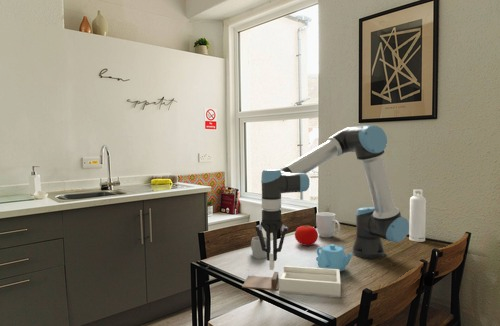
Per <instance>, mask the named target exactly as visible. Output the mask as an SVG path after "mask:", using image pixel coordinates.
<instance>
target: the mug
mask: <svg viewBox="0 0 500 326" xmlns="http://www.w3.org/2000/svg"><path fill="white" fill-rule="evenodd" d="M315 219H316V220H315V223H316V224H315V225H316V231H317V233H318V236H320V237H322V238H331V237H332V236H333V235H338V234H339V233H340V231H341V223H340V222H339V221H338V220H337V219H336V213H333V212H328V211H326V212H325V211H321V212H316V214H315ZM336 224H337V231H335V229H336Z"/></svg>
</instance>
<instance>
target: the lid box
mask: <svg viewBox="0 0 500 326" xmlns="http://www.w3.org/2000/svg"><path fill="white" fill-rule="evenodd" d="M340 273H341V271H339V269H327V268H319V267H312V266H297V265H296V266H295V265H283V271H282V274H281V277H278V278H279V290H278V291H279V293H280V294H293V295H303V296H304V295H305V296H315V297H316V296H317V297H327V298H329V297H330V298H341V289H342V288H341V274H340Z"/></svg>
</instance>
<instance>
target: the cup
mask: <svg viewBox="0 0 500 326" xmlns="http://www.w3.org/2000/svg"><path fill="white" fill-rule="evenodd" d="M263 237H264V241H265V245H266V237H265V236H263ZM250 249H251V250H252V251H251V252H252V257H253V258H254V259H256V258H257V259H258V260H262V259H263V260H264V259H265V258H266V259H267V252H265V251H262V248H261V244H260V240H259V236H254V237H252V239H251V241H250ZM257 259H256V260H257Z"/></svg>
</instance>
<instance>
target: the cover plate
mask: <svg viewBox="0 0 500 326" xmlns="http://www.w3.org/2000/svg"><path fill="white" fill-rule="evenodd" d="M279 278H280V277H279V271H274V272H273V274H272V277H271V276H261V275H260V276H258V275H257V276H256V275H247V277H246V279H245V280H244V283H243V284H242V285H241V288H242V289H251V290H252V289H254V290H266V291H279Z"/></svg>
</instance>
